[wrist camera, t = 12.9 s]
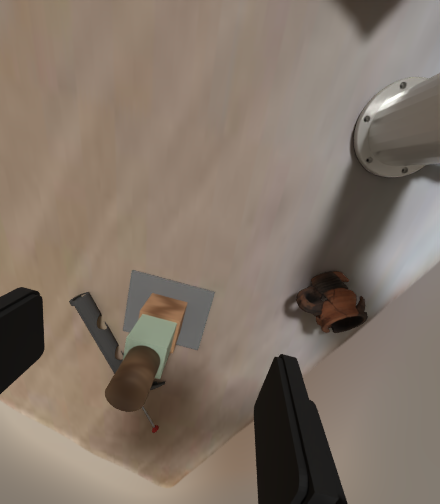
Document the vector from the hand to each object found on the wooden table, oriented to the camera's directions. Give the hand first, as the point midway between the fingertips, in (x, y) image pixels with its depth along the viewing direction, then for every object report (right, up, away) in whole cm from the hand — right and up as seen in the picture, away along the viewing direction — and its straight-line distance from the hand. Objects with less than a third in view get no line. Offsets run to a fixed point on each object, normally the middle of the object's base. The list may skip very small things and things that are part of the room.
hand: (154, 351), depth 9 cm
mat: (-8, -8, +36) cm, 38 cm away
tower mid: (-8, -10, +30) cm, 33 cm away
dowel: (-9, -12, +24) cm, 29 cm away
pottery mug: (+22, -4, +33) cm, 40 cm away
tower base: (-8, -8, +36) cm, 38 cm away
